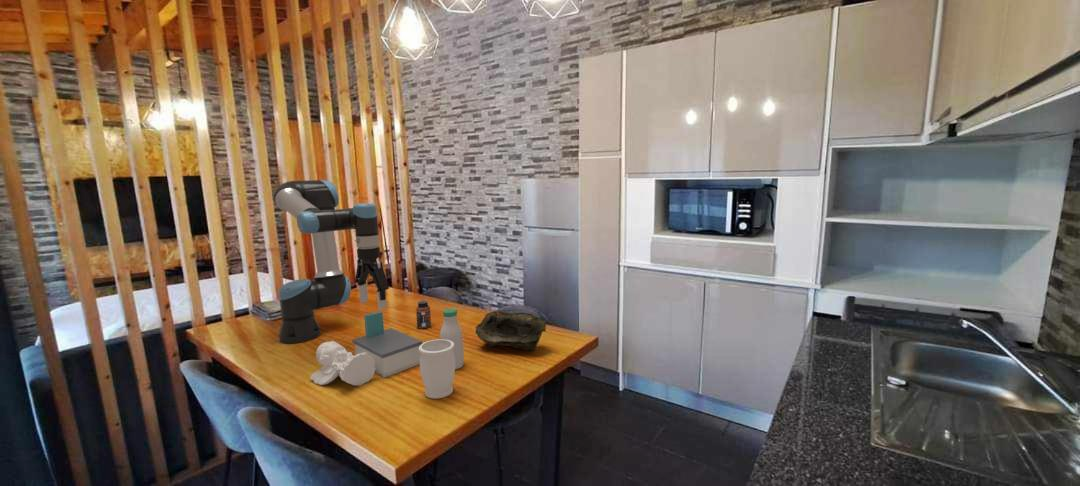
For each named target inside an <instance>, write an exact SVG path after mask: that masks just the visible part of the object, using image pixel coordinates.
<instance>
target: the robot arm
mask: <svg viewBox="0 0 1080 486" xmlns="http://www.w3.org/2000/svg"><path fill="white" fill-rule="evenodd" d="M272 199H273V200H272V202H273V203H274V204H275V206H276V207H277V208H278V209H279V210H281V211H283V212H286V213H289V214H290V215H291V216H292V217H294V218H295V219H296V226H297V228H298V230H299V232H300V233H302V234H311V236H312V243H313V251H314V258H315V264H316V274H315V275H314V276H313V279H314V281H312V280H311V279H308V278H303V279H297V280H295V279H294V280H292V281H289V282H286V283H284V284H283V285H281V286H280V287H279V289H278V300H279V303H280V304H279V305H280V314H281V315H280V316H281V325H280V329H279V331H278V332H279V333H278V341H279V342H280V343H282V344H298V343H305V342H308V341H312V340H314V339H316V338H318V337H319V336H320V335H321V332H322V331H321V327H320V326H319V323H318V321H317V320H316V318H315V311H314V310H319V309H323V308H329V307H333V306H338V305H341V304H345V303H347V302H348V301H349V299H350V296H351V292H352V287H351V285H352V284H351V282H350V278H349V277H348V276H346V275H345V273H344V272H343V271H342V270H341V269H340V265H339V259H338V251H337V244H336V243H337V242H336V236H335V232H337V231H347V230H348V231H349V230H354V232H355V240H354V242H356V244H355V245H356V247H357V249H356V253H357V254H356V256H357V261H356V262H357V265H356V272H355V278H354V282H355V283H357V286H358V293H359V303H360V304H364V303H368V302H369V296H368V282H367V280H368V277H369V276H370V277H372V280H373V282H374V284H375V286H376V289H377V290H376V297H377V307H378V310H379V311H380V310H381V311H382V310H383V309H387V297H386V290H389V289H390V287H389V284H388V283H389V282H388V281H387V277H386V273H385V271H384V267H383V262H382V261H377V260H378V259H379V258H380V257H381V248H380V235H379V224H378V223H379V222H378V221H379V220H378V212H377V205H376V204H375V203H374V202H373V203H369V202H368V203H366V202H363V203H355V204H354V205H353V207H349V208H342V209H340V208H339V209H338V208H337V207H338V206H339V203H340V202H339V200H340V198H339V192H338V190H337V188H336V186H335V184H334V183H333V182H331V181H330V180H322V179H316V180H311V179H310V180H290V181H286V182H284V183H282V184H280V185H279V186H277V187H276V188H275V190H274V191H273V194H272ZM336 208H337V209H336Z"/></svg>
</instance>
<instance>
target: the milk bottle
mask: <svg viewBox="0 0 1080 486" xmlns="http://www.w3.org/2000/svg"><path fill="white" fill-rule="evenodd" d="M442 315H443V317H442V318H443V323H442V326H441V328H440V333H439V339H446V340H450V341H452V342H453V343H454V348H453V352H454V356H455V370H458V369H460V368H462V367H463V366H464V364H465V356H464V354H465V353H464V339H463V337H464V336H463V330H462V327H461V325H460V323H459V322H458V319H457V317H458V310H457V309H456V308H446V309H444V310H443V311H442Z"/></svg>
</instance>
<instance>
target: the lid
mask: <svg viewBox="0 0 1080 486" xmlns="http://www.w3.org/2000/svg"><path fill="white" fill-rule="evenodd" d="M363 317H364V327H365V328H364V330H365V335H363V336H359V337H356V338H353V339H352V343H353V344H354V345H355V344H356V345H358V346H360V347H362V348H364V349H365V350H367V351H369V352H371V353H373V354H375V355H377V356H379V357H380V358H385V357H388V356H391V355H393V354H396V353H399V352H402V351H405V350H408V349H411V348H414V347H417V346H420V345H421V344H423V340H421V339H420V340H419V339H418V338H416V337H414V336H411V335H409V334H406V333H404V332H402V331H399V330H397V329H395V328H392V327H389V328H386V329H385V327H384V313H383V311H382V310H381V311H380V310H379V311H375V312H372V313H367V314H364V315H363Z"/></svg>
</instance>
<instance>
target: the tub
mask: <svg viewBox="0 0 1080 486" xmlns="http://www.w3.org/2000/svg"><path fill="white" fill-rule="evenodd" d="M354 351H355V356H356V355H357V354H360V353H365V352H366V353H367V354H368V355H369V356H371V357H372V358H373V359H374V361H375V365H374V368H375V369H376V370H375V372H374V373H375V374H377V375H379V376H381V377H383V378H387V377H390V376H392V375H395V374H397V373H400V372H403V371H406V370H408V369H410V368H414V367H417V366H418V365H419V366H420V355H421V353H420V352H419V346H417V347H414V348H411V349H408V350H405V351H402V352H399V353H396V354H393V355H391V356H388V357H385V358H380V357H379V356H377V355H375V354H373V353H371V352H369V351H367V350H365V349H364V348H362V347H360V346H358V345H356V344H354Z"/></svg>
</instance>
